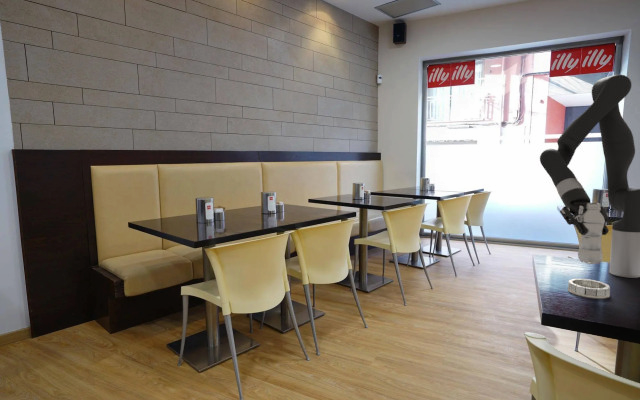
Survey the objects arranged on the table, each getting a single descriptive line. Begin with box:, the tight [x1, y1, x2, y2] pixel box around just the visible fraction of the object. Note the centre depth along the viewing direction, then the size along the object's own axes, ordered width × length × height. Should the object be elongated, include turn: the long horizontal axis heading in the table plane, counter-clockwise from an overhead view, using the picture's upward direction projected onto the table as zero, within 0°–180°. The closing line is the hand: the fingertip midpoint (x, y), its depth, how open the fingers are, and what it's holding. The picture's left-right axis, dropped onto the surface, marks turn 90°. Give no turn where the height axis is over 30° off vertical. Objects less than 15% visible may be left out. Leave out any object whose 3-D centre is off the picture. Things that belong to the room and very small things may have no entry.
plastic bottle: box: [577, 202, 605, 265], centre depth 124 cm, size 6×7×20 cm
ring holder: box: [567, 278, 611, 300], centre depth 125 cm, size 11×11×3 cm
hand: (595, 233), depth 122 cm, fingers closed on plastic bottle, 6 cm apart
